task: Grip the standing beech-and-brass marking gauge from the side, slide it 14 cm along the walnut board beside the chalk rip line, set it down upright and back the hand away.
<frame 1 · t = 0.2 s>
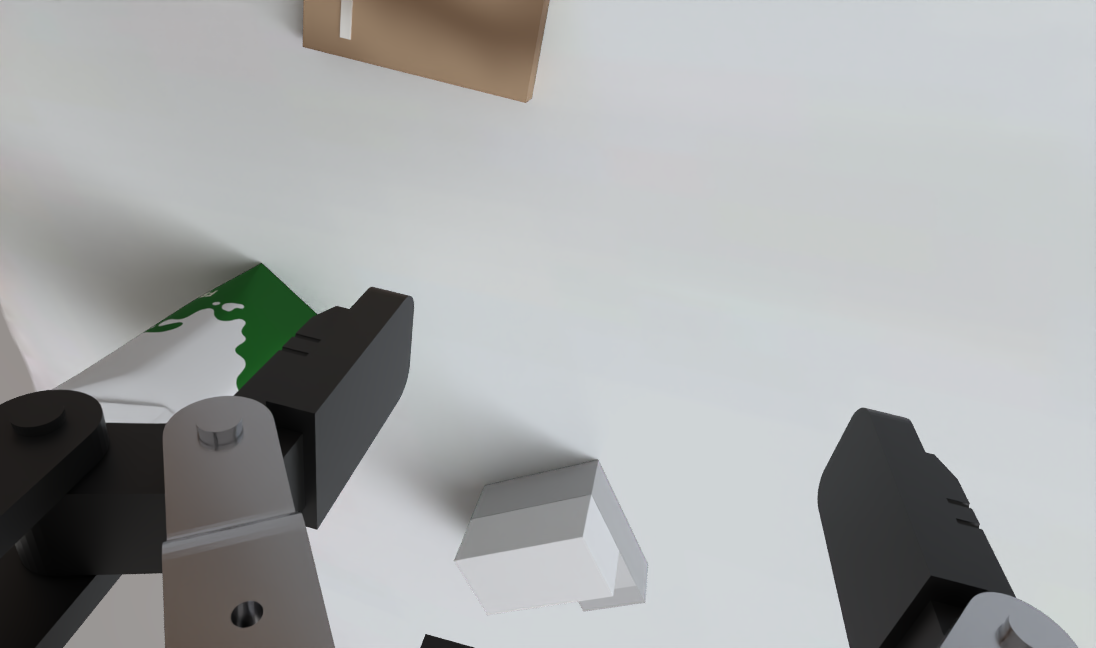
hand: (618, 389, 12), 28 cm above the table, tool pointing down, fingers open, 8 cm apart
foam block: (617, 527, 52), on the table
milk carton: (277, 325, 49), on the table
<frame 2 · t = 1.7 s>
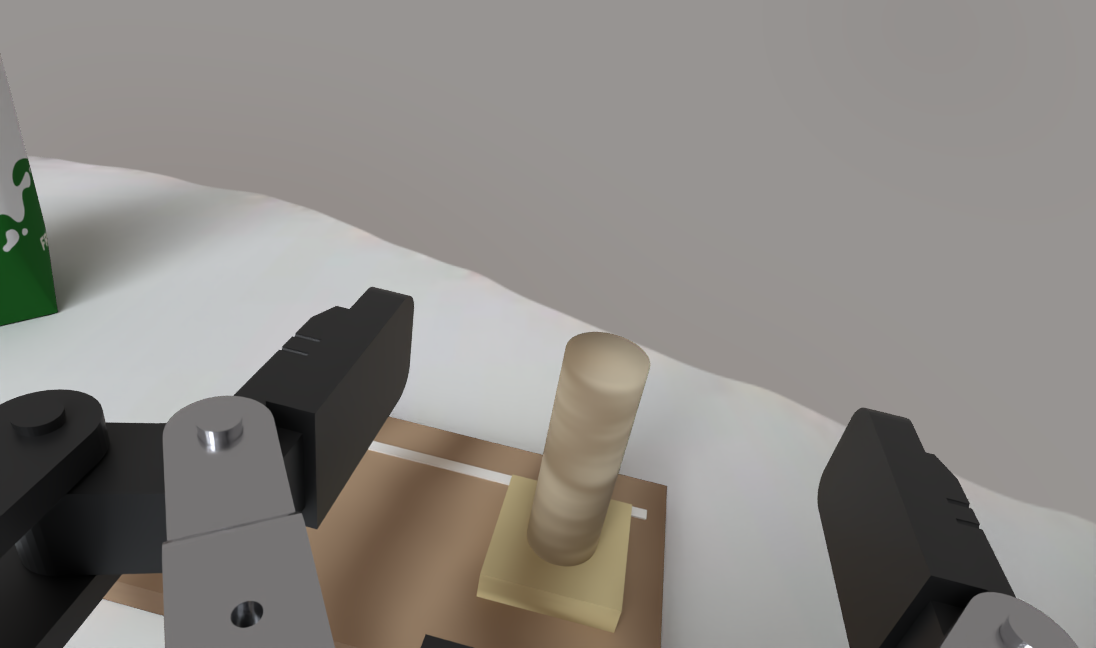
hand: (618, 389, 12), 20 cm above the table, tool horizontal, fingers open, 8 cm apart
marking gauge: (556, 558, 31), point 1 cm above the table, touching walnut board
walnut board: (409, 541, 32), on the table
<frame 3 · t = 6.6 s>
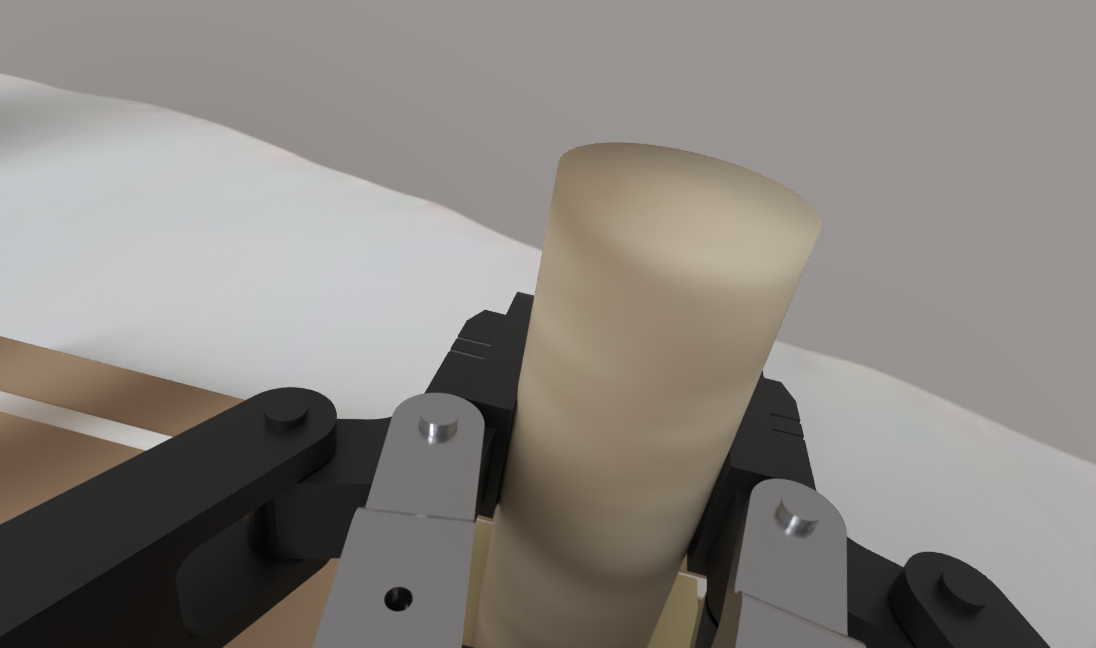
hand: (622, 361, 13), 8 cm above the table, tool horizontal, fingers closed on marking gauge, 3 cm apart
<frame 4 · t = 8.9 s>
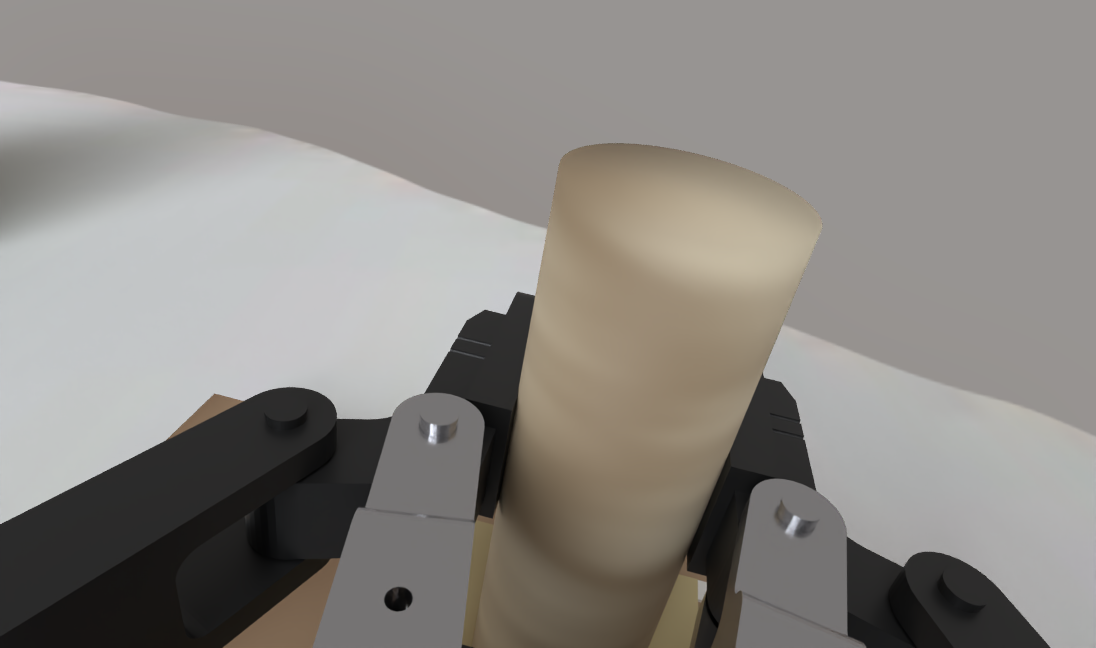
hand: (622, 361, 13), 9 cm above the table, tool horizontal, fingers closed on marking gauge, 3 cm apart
when the fingers open (9 cm above the table, at t = 11.2 s): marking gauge stays where it is, resting on walnut board.
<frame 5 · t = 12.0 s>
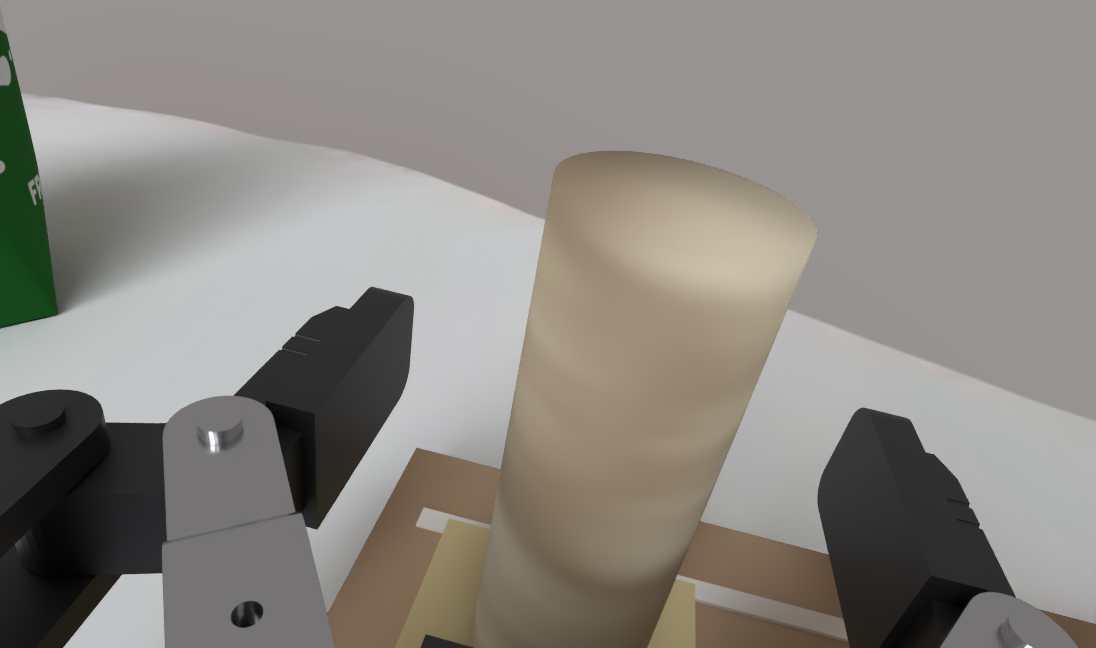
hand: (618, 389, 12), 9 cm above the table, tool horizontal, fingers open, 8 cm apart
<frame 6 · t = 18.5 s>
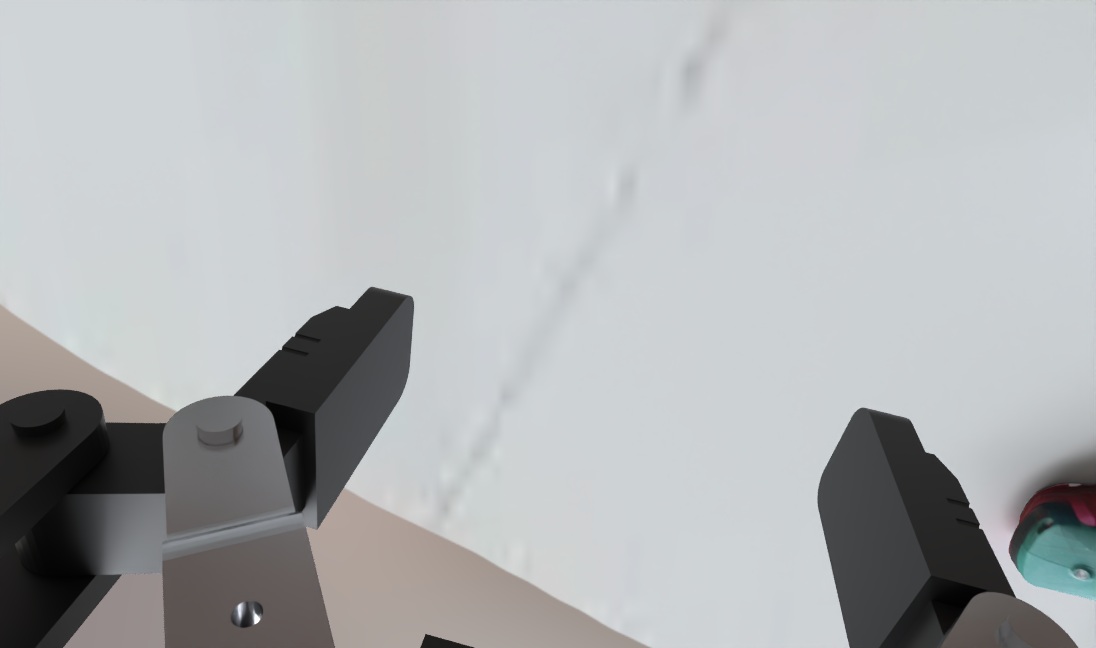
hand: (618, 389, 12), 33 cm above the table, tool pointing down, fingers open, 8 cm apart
power drill: (1034, 508, 51), on the table
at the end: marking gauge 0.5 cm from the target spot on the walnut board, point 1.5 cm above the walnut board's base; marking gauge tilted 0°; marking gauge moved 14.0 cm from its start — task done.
